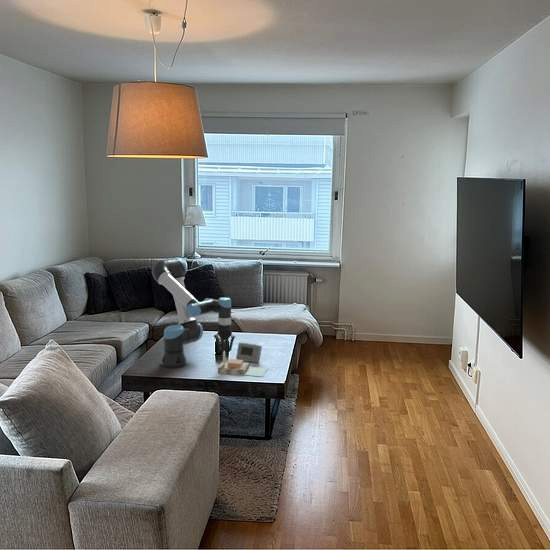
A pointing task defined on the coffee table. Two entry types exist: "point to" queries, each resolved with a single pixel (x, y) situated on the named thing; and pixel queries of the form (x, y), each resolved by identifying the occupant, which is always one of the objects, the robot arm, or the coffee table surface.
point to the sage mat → (256, 371)
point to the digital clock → (248, 352)
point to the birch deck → (233, 368)
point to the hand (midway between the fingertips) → (224, 362)
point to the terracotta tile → (235, 363)
